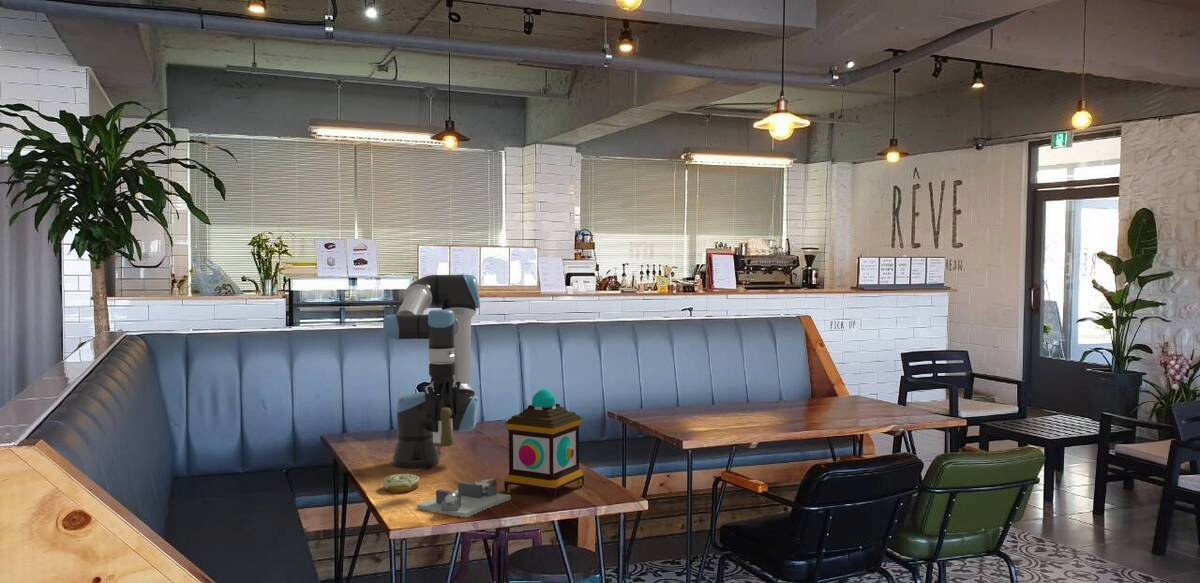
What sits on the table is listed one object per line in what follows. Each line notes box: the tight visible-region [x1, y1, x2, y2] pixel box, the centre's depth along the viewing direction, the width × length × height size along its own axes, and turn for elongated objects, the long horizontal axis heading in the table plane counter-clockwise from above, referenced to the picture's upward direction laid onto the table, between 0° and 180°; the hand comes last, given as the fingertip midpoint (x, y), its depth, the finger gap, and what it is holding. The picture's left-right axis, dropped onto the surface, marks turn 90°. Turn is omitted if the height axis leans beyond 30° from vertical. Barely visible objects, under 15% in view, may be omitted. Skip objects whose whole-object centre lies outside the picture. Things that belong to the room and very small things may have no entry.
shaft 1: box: [441, 490, 461, 511], centre depth 238 cm, size 5×4×4 cm
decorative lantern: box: [503, 388, 585, 500], centre depth 261 cm, size 20×20×30 cm
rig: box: [416, 481, 512, 518], centre depth 247 cm, size 17×20×5 cm
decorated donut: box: [382, 473, 421, 493], centre depth 263 cm, size 10×11×4 cm
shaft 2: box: [473, 477, 498, 497], centre depth 252 cm, size 6×4×4 cm
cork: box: [433, 407, 455, 448], centre depth 261 cm, size 6×6×11 cm
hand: (443, 441), depth 261 cm, fingers closed on cork, 4 cm apart
